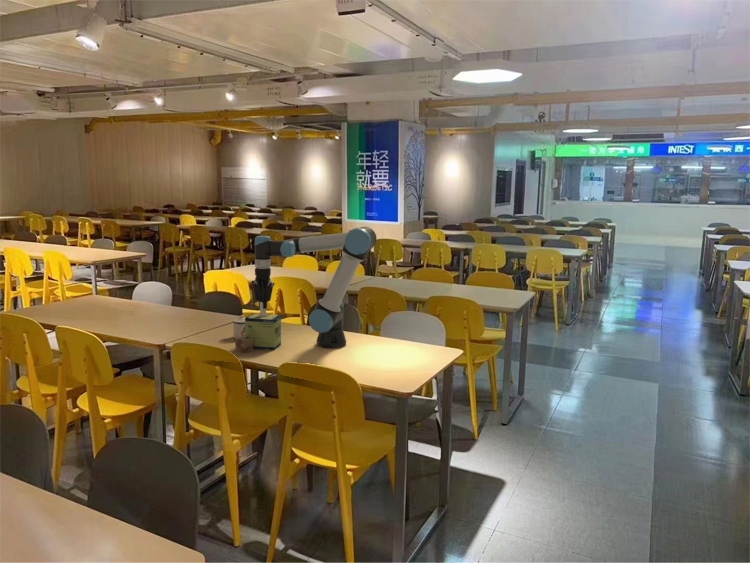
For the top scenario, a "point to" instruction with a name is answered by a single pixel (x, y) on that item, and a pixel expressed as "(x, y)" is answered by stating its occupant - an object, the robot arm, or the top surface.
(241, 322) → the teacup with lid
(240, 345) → the numbered walnut block
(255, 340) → the protein box
